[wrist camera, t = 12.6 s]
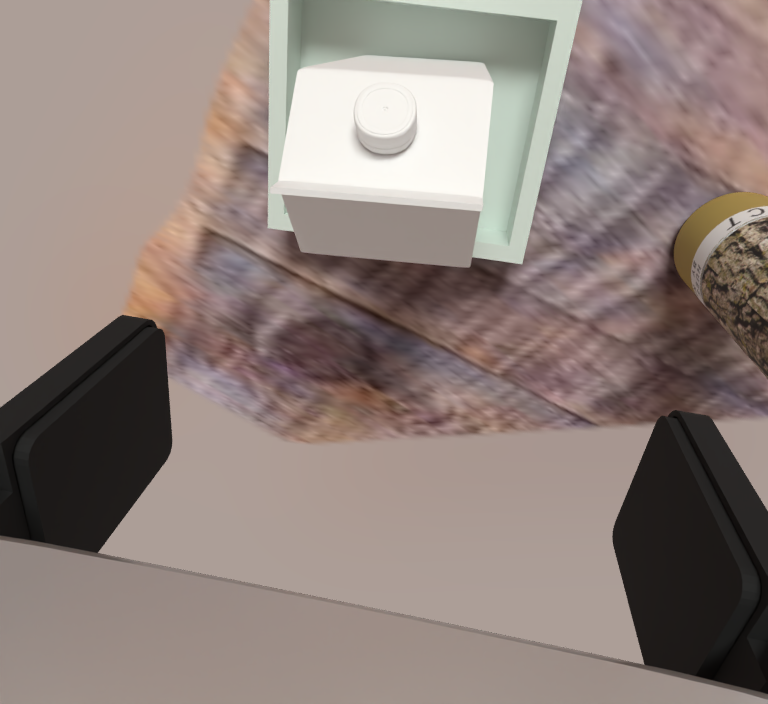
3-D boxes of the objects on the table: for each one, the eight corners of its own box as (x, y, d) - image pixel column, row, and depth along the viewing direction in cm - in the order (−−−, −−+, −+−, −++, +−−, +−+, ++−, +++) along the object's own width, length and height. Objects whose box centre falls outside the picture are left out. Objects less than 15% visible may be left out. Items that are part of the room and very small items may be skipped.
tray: (570, 3, 33) (582, -1, 30) (517, 243, 40) (522, 264, 36) (290, -29, 34) (270, -36, 31) (285, 211, 41) (267, 228, 37)
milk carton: (469, 186, 37) (469, 308, 21) (359, 177, 38) (273, 288, 21) (485, 62, 34) (499, 88, 17) (362, 54, 35) (264, 73, 18)
